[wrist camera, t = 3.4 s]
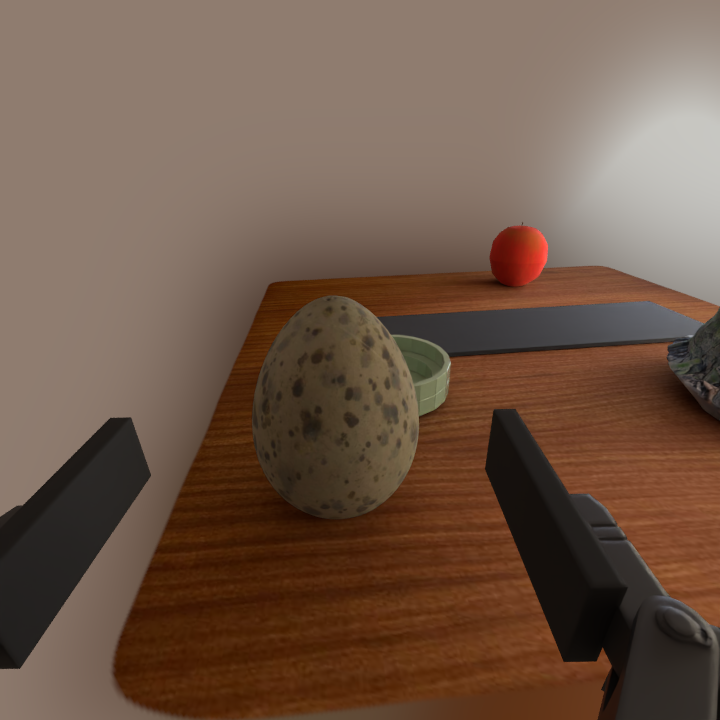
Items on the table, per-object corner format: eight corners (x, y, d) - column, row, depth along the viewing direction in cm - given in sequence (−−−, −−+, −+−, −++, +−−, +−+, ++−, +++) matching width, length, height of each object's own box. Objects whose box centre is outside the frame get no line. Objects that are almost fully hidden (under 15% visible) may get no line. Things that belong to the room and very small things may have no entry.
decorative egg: (436, 473, 31) (451, 285, 24) (371, 592, 22) (367, 353, 16) (322, 434, 35) (308, 268, 29) (234, 519, 27) (185, 313, 20)
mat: (366, 362, 48) (366, 358, 48) (356, 321, 61) (356, 318, 60) (728, 338, 52) (729, 333, 51) (648, 304, 64) (649, 300, 64)
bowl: (307, 396, 41) (304, 362, 40) (378, 356, 50) (378, 326, 48) (403, 442, 34) (404, 403, 32) (467, 386, 42) (471, 352, 41)
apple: (553, 286, 75) (565, 222, 70) (510, 293, 71) (520, 227, 66) (515, 274, 83) (524, 216, 78) (476, 280, 80) (482, 220, 75)
